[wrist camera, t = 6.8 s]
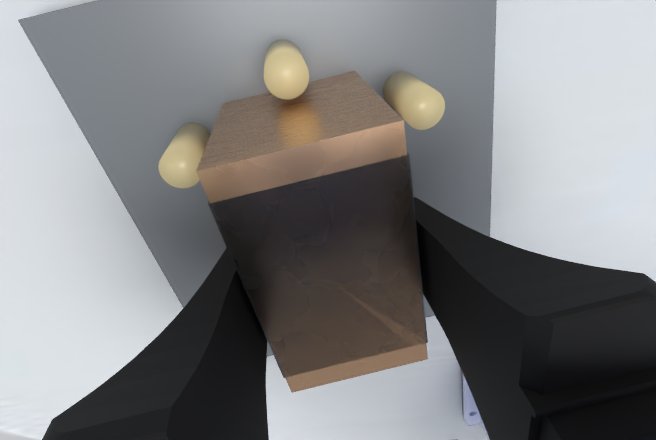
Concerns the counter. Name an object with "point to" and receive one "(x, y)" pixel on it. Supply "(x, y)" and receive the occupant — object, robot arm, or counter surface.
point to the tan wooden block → (321, 227)
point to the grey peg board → (260, 77)
